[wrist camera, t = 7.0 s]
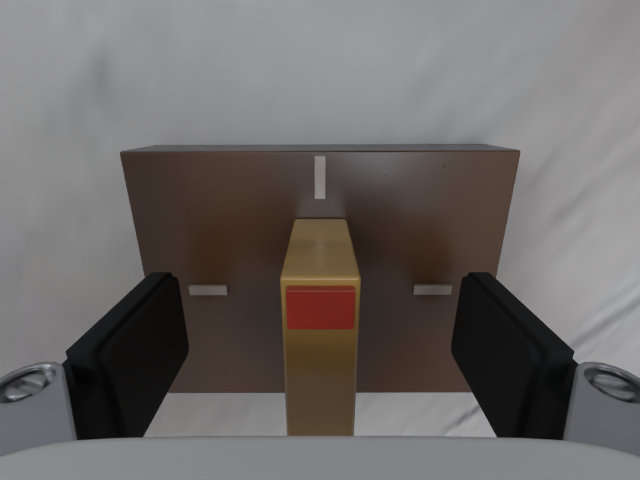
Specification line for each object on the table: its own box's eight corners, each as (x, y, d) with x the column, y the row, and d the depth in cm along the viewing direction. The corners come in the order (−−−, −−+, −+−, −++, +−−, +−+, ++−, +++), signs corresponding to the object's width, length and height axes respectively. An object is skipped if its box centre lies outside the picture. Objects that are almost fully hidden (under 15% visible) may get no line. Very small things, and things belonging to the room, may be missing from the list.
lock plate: (189, 354, 17) (166, 396, 14) (154, 145, 13) (115, 152, 11) (452, 353, 17) (475, 395, 14) (485, 144, 13) (524, 150, 11)
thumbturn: (342, 350, 14) (354, 465, 9) (298, 350, 14) (286, 465, 9) (346, 218, 12) (362, 282, 7) (294, 218, 12) (278, 281, 7)
